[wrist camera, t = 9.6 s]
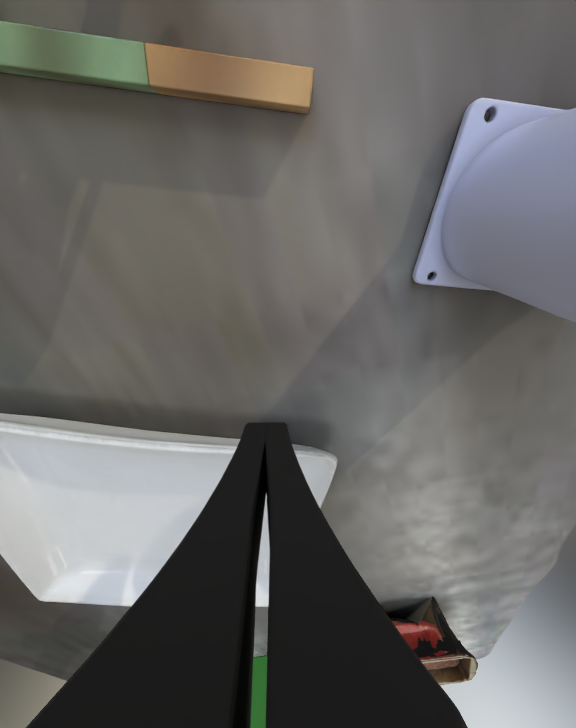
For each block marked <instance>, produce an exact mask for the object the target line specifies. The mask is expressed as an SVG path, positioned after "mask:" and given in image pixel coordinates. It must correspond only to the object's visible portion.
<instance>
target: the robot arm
mask: <svg viewBox="0 0 576 728" xmlns="http://www.w3.org/2000/svg"><path fill="white" fill-rule="evenodd" d="M487 109H488V110H490V113H491V114H490V118H489V120H488V122H486V121H485V119H484V115H485V112H486V110H487ZM431 272H433V276H432V277H431V278H430V279H427V277H428V274H429V273H431ZM412 278H413V280H414V281H415V282H416V283H418V284H425V285H436V286H447V287H459V288H470V289H481V290H493V291H497V292H499V293H502V294H504V295H507V296H509V297H512V298H514V299H517V300H519V301H522V302H524V303H527V304H529V305H532V306H534V307H537V308H539V309H541V310H544V311H546V312H549V313H551V314H554V315H556V316H559V317H561V318H564V319H566V320H569V321H571V322H574V323H576V108H573V109H570V110H562V109H556V108H549V107H542V106H536V105H529V104H522V103H516V102H509V101H502V100H496V99H489V98H480V99H478V100H476V101H474V102H472V103H471V104H470V105H469V106H468V107H467V109H466V111H465V113H464V116H463V119H462V122H461V125H460V128H459V132H458V135H457V138H456V141H455V144H454V147H453V150H452V153H451V156H450V159H449V163H448V166H447V169H446V172H445V175H444V178H443V181H442V184H441V187H440V190H439V194H438V197H437V200H436V203H435V206H434V209H433V212H432V215H431V218H430V222H429V225H428V228H427V231H426V234H425V237H424V240H423V243H422V246H421V249H420V253H419V256H418V259H417V262H416V265H415V268H414V271H413V275H412ZM266 496H267V513H268V530H269V547H270V561H269V606H268V648H267V689H266V728H467V726H466V724H465V722H464V720H463V718H462V716H461V714H460V712H459V710H458V709H457V707H456V706H455V704H454V703H453V702H452V700H451V699H450V698H449V697H448V695H447V694H446V693H445V691H444V690H443V689H442V688H441V686H440V685H439V684H438V682H437V681H436V680H435V679H434V677H433V676H432V675H431V673H430V672H429V671H428V670H427V668H426V667H425V666H424V664H423V663H422V662H421V660H420V659H419V658H418V656H417V655H416V654H415V652H414V651H413V650H412V648H411V647H410V646H409V644H408V643H407V642H406V640H405V639H404V638H403V636H402V635H401V633H400V632H399V631H398V629H397V628H396V627H395V625H394V624H393V622H392V621H391V620H390V618H389V617H388V615H387V614H386V613H385V611H384V610H383V609H382V607H381V606H380V604H379V603H378V601H377V600H376V598H375V597H374V595H373V594H372V592H371V591H370V589H369V588H368V586H367V585H366V583H365V582H364V580H363V579H362V577H361V576H360V574H359V573H358V572H357V570H356V569H355V567H354V566H353V564H352V562H351V561H350V559H349V558H348V556H347V554H346V553H345V551H344V549H343V548H342V546H341V545H340V543H339V541H338V540H337V538H336V536H335V534H334V533H333V531H332V529H331V528H330V526H329V524H328V522H327V521H326V519H325V517H324V515H323V513H322V511H321V509H320V508H319V506H318V504H317V502H316V500H315V498H314V496H313V494H312V492H311V490H310V487H309V485H308V483H307V481H306V479H305V476H304V474H303V472H302V469H301V467H300V465H299V462H298V460H297V457H296V455H295V452H294V449H293V446H292V443H291V440H290V436H289V432H288V427H287V425H286V424H285V423H248V424H246V425H245V428H244V431H243V434H242V437H241V439H240V441H239V444H238V446H237V448H236V450H235V452H234V455H233V457H232V459H231V461H230V462H229V464H228V466H227V468H226V470H225V472H224V474H223V476H222V478H221V480H220V481H219V483H218V485H217V486H216V488H215V490H214V491H213V493H212V495H211V496H210V498H209V500H208V502H207V503H206V505H205V506H204V508H203V510H202V511H201V513H200V514H199V516H198V517H197V519H196V520H195V522H194V523H193V525H192V526H191V528H190V529H189V531H188V532H187V534H186V535H185V537H184V538H183V540H182V541H181V542H180V544H179V545H178V547H177V548H176V549H175V551H174V552H173V553H172V555H171V556H170V557H169V559H168V560H167V561H166V563H165V564H164V566H163V567H162V568H161V570H160V571H159V572H158V574H157V575H156V576H155V577H154V579H153V580H152V581H151V583H150V584H149V585H148V587H147V588H146V589H145V590H144V592H143V593H142V594H141V595H140V596H139V598H138V599H137V600H136V601H135V603H134V604H133V605H132V606H131V607H130V609H129V610H128V611H127V612H126V613H125V615H124V616H123V617H122V618H121V620H120V621H119V622H118V623H117V624H116V626H115V627H114V628H113V629H112V630H111V632H110V633H109V634H108V635H107V637H106V638H105V639H104V640H103V641H102V643H101V644H100V645H99V646H98V647H97V648H96V650H95V651H94V652H93V653H92V654H91V655H90V656H89V658H88V659H87V660H86V661H85V662H84V663H83V664H82V665H81V667H80V668H79V669H78V670H77V671H76V672H75V673H74V674H73V676H72V677H71V678H70V679H69V680H68V681H67V682H66V684H64V686H63V687H62V688H61V689H60V690H59V691H58V692H57V693H56V695H55V696H54V697H53V698H52V699H51V700H50V701H49V702H48V704H47V705H46V706H45V707H44V708H43V709H42V710H41V711H40V713H39V714H38V715H37V716H36V717H35V718H34V719H33V720H32V721H31V723H30V724H29V725H28V726H27V727H26V728H251V704H252V677H253V652H254V627H255V603H256V581H257V569H258V559H259V551H260V542H261V533H262V525H263V516H264V508H265V499H266Z"/></svg>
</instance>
